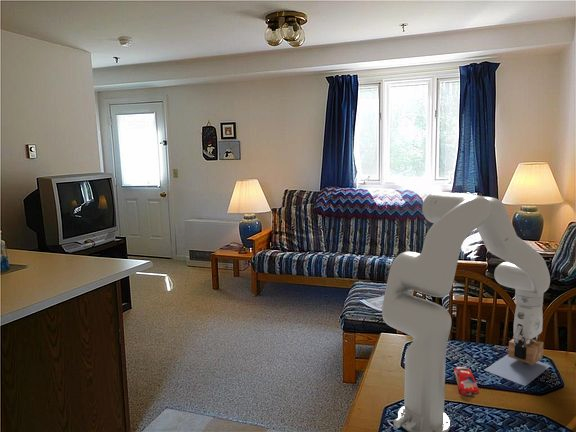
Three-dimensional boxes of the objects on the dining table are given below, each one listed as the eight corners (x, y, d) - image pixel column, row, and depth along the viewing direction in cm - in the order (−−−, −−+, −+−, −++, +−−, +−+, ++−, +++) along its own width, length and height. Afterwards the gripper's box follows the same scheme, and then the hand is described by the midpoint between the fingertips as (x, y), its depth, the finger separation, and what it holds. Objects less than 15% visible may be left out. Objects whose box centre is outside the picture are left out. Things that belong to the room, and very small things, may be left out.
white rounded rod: (526, 364, 133) (529, 331, 132) (520, 362, 135) (522, 329, 133) (529, 362, 134) (531, 329, 133) (523, 360, 136) (525, 327, 134)
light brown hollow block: (532, 365, 129) (533, 349, 129) (508, 356, 135) (509, 341, 134) (542, 357, 134) (543, 342, 133) (518, 349, 139) (519, 335, 139)
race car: (480, 400, 118) (480, 387, 117) (459, 398, 119) (459, 385, 118) (471, 375, 130) (472, 363, 130) (452, 374, 132) (453, 362, 131)
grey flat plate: (524, 390, 122) (525, 386, 121) (483, 373, 131) (483, 369, 131) (550, 369, 133) (551, 365, 132) (511, 355, 142) (511, 351, 142)
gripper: (529, 309, 123) (525, 367, 126) (553, 296, 134) (549, 350, 137) (502, 303, 129) (499, 358, 132) (528, 290, 140) (525, 342, 142)
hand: (525, 353), depth 134 cm, fingers closed on light brown hollow block, 6 cm apart
